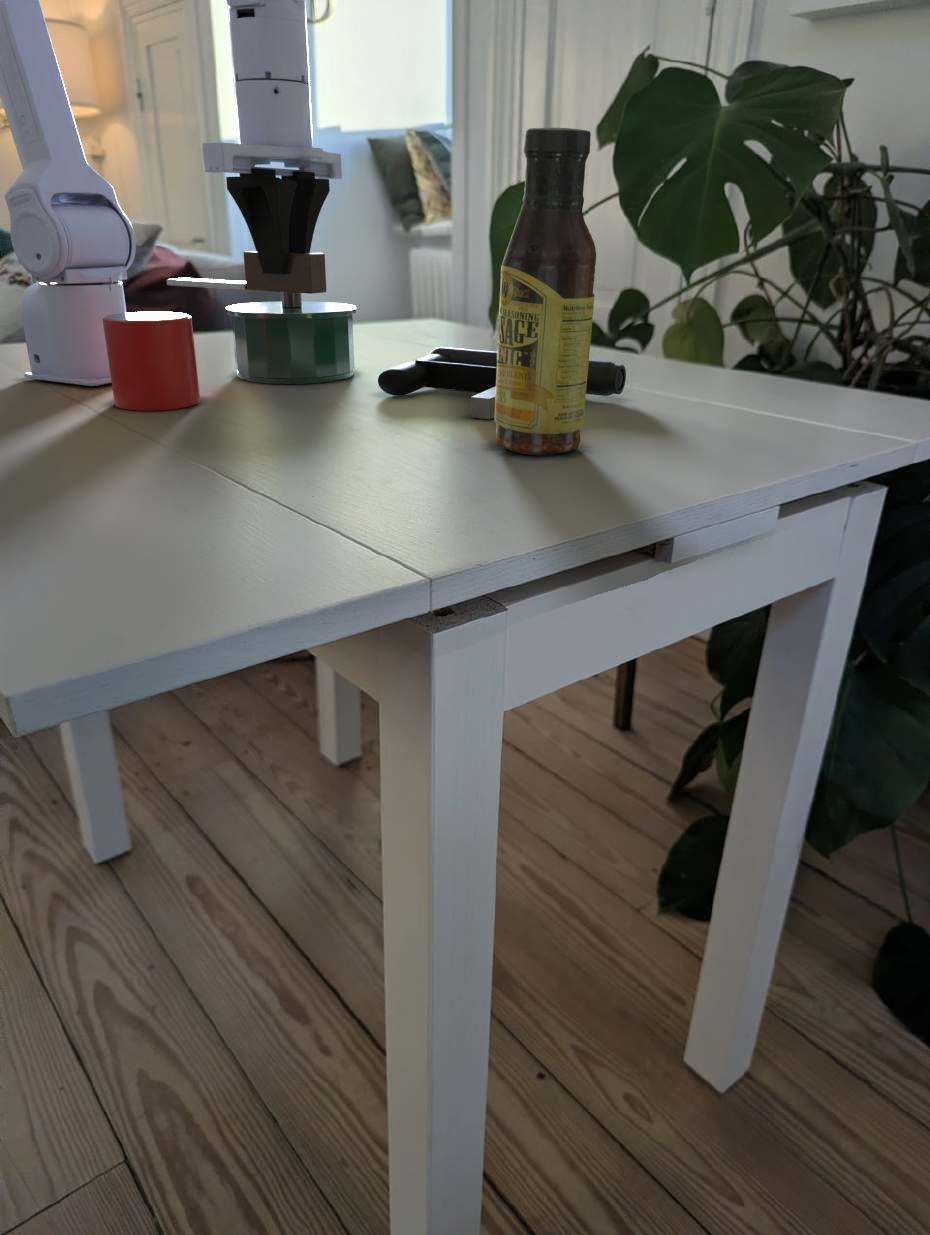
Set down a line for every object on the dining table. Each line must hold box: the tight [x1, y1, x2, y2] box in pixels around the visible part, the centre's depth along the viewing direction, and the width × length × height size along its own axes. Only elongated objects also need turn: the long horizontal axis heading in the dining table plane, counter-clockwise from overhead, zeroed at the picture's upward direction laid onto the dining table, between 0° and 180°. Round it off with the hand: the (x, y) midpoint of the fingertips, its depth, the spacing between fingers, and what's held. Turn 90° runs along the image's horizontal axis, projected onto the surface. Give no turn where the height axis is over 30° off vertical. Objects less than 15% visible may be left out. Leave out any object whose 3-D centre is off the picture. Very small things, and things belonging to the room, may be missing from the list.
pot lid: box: [225, 292, 357, 319], centre depth 89 cm, size 13×13×3 cm
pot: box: [230, 314, 355, 385], centre depth 91 cm, size 12×12×6 cm
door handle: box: [377, 346, 627, 420], centre depth 80 cm, size 3×20×16 cm
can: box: [102, 311, 201, 412], centre depth 76 cm, size 7×7×7 cm
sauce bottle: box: [494, 127, 597, 456], centre depth 60 cm, size 7×6×20 cm
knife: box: [166, 250, 327, 295], centre depth 77 cm, size 16×2×3 cm, turn 61°
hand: (284, 273), depth 75 cm, fingers closed on knife, 2 cm apart
